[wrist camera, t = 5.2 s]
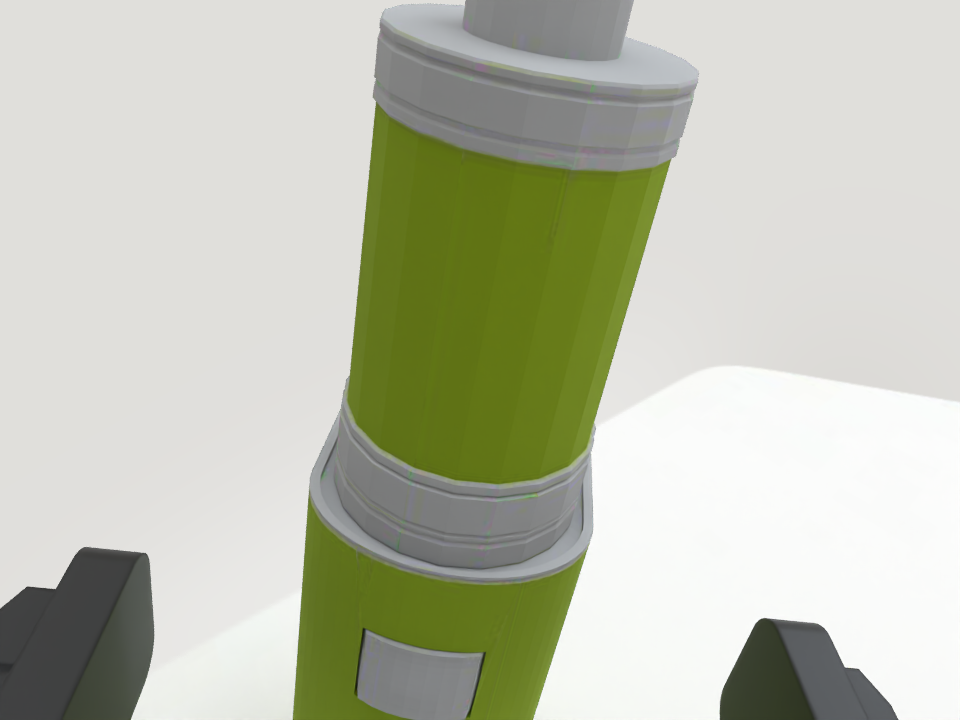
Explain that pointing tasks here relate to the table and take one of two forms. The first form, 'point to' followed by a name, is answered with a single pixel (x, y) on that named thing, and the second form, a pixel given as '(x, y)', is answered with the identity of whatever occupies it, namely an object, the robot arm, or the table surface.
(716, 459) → the table surface
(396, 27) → the vape
